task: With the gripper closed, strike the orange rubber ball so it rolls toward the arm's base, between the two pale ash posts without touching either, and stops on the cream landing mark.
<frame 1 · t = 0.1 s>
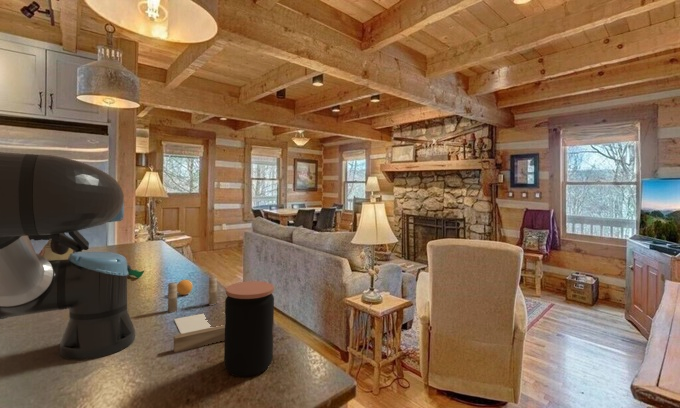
hand: (46, 267, 97), 15 cm above the kitchen island, tool tilted 35°, fingers open, 13 cm apart
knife: (131, 277, 144), on the kitchen island
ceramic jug: (60, 292, 121), on the kitchen island
coffee jar: (248, 366, 74), on the kitchen island
post right: (212, 304, 112), on the kitchen island
post left: (172, 310, 105), on the kitchen island
stopper wall: (216, 341, 85), on the kitchen island
ball: (184, 287, 122), on the kitchen island
landing mark: (203, 322, 97), on the kitchen island
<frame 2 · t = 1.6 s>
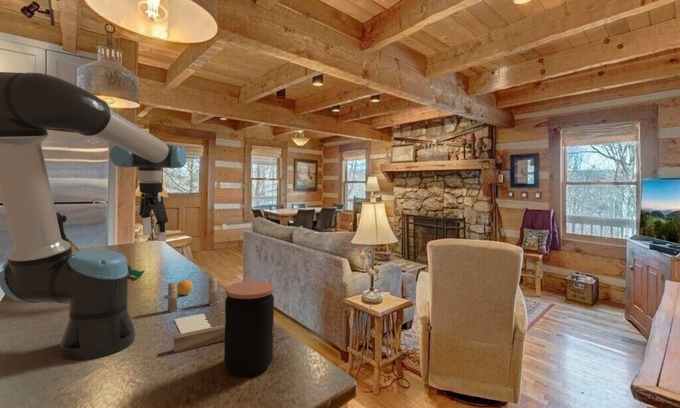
hand: (154, 237, 124), 21 cm above the kitchen island, tool pointing down, fingers open, 13 cm apart
nothing on the kitchen island moved.
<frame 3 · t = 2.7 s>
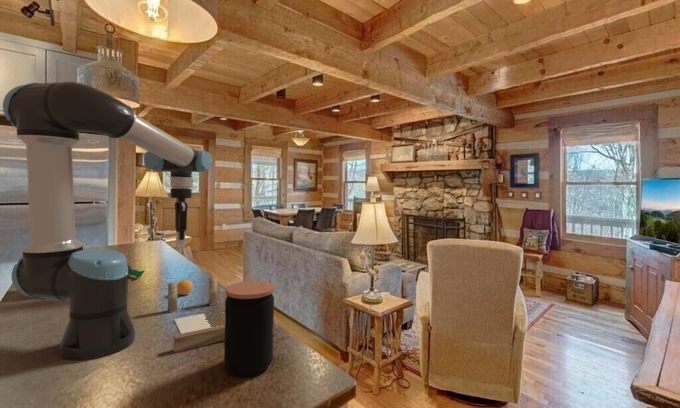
hand: (180, 247, 129), 16 cm above the kitchen island, tool pointing down, fingers open, 2 cm apart
nothing on the kitchen island moved.
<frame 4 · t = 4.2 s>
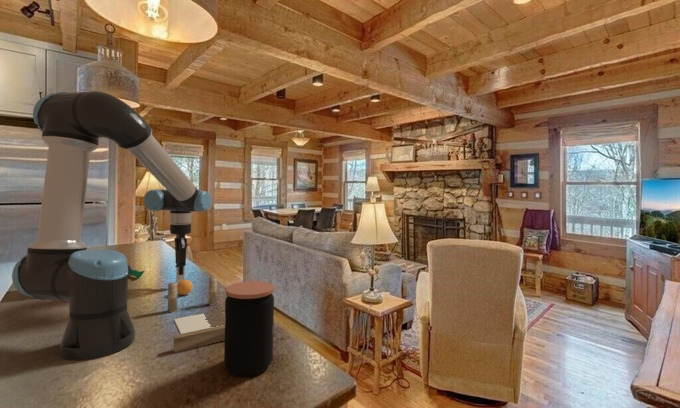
hand: (180, 282, 130), 2 cm above the kitchen island, tool pointing down, fingers closed
nothing on the kitchen island moved.
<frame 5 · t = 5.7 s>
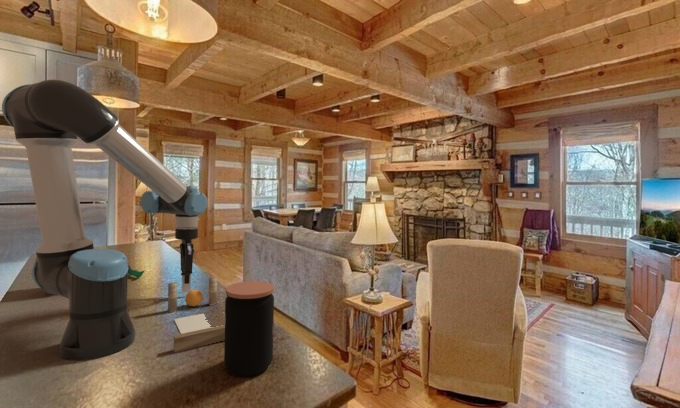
hand: (186, 291, 119), 2 cm above the kitchen island, tool pointing down, fingers closed
ball: (194, 298, 110), on the kitchen island
everything else where it was.
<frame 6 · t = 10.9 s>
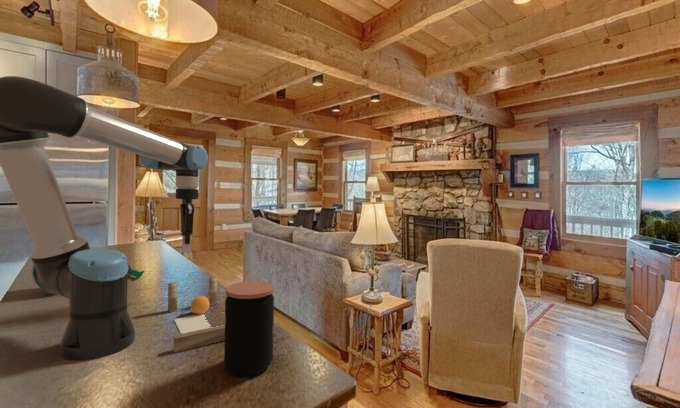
hand: (186, 252, 119), 16 cm above the kitchen island, tool pointing down, fingers closed
ball: (200, 305, 103), on the kitchen island
everything else where it was.
at the end: ball 8.2 cm from the landing mark (horizontally); ball never touched post left; ball never touched post right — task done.
